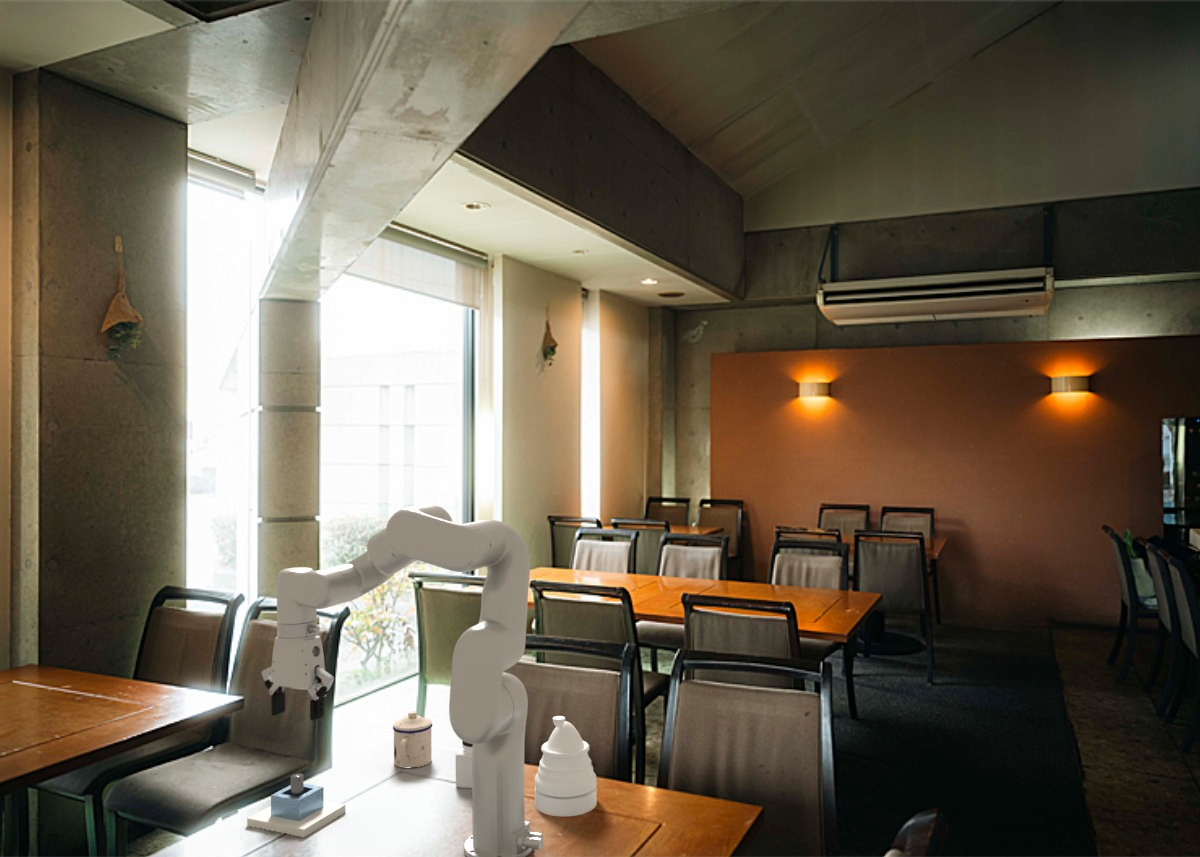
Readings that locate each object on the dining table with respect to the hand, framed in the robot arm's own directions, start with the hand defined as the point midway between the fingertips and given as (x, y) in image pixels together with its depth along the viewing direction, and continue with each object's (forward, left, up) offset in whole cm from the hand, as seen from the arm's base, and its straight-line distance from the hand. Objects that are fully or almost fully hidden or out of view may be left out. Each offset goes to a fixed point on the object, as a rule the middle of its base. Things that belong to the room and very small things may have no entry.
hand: (297, 716), depth 170 cm
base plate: (0, 0, -20) cm, 20 cm away
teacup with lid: (-4, -33, -21) cm, 39 cm away
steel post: (0, 0, -19) cm, 19 cm away
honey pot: (-47, -26, -21) cm, 57 cm away
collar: (0, 0, -19) cm, 19 cm away
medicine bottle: (-24, -29, -21) cm, 43 cm away
